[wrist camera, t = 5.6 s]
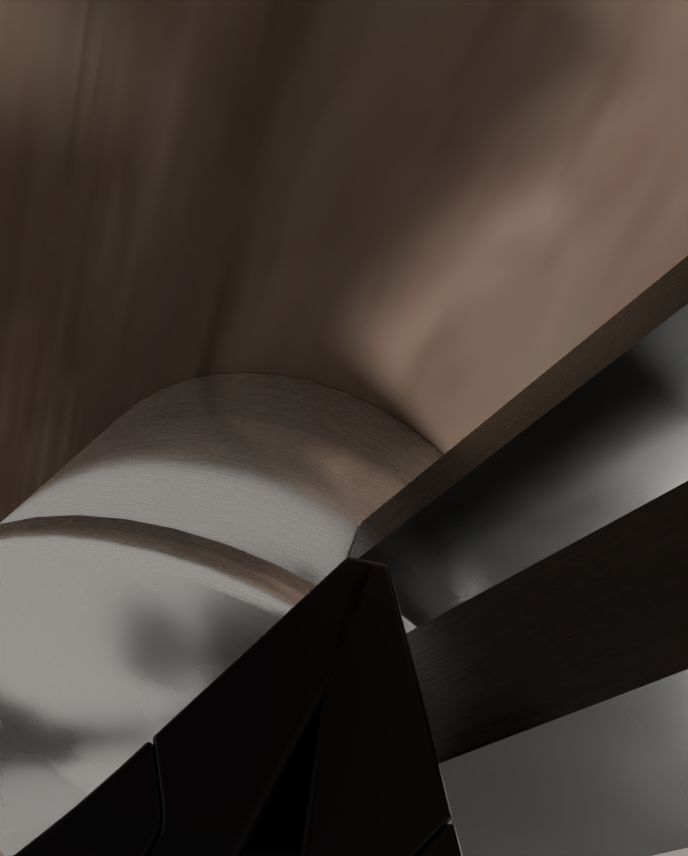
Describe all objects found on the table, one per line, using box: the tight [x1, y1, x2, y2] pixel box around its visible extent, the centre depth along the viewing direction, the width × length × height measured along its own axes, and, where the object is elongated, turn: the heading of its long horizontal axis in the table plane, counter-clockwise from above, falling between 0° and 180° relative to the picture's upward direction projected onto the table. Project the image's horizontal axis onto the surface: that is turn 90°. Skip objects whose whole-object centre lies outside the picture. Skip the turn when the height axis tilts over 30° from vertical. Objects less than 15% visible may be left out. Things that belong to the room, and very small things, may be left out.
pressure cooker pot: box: [0, 256, 688, 633], centre depth 16 cm, size 25×14×6 cm, turn 141°
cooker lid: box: [0, 481, 688, 856], centre depth 12 cm, size 20×15×3 cm
